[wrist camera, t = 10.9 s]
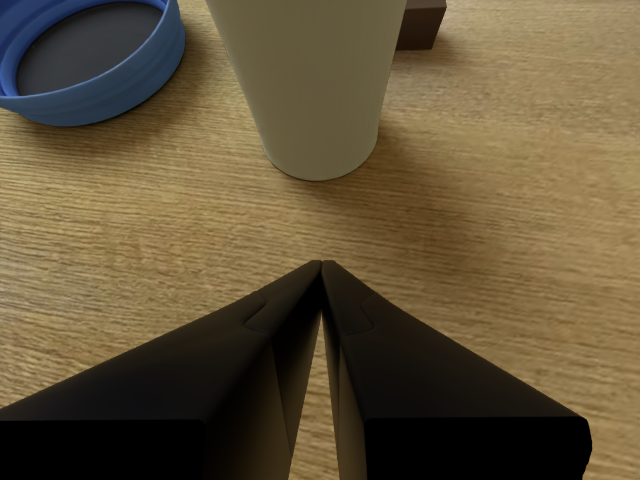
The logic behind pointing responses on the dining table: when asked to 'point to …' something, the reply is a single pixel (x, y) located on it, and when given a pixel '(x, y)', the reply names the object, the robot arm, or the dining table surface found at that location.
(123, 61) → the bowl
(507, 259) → the dining table surface
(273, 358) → the robot arm
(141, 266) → the dining table surface
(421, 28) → the rail
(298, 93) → the can
